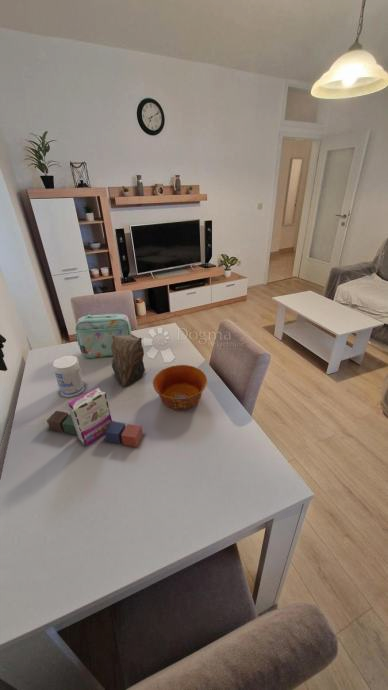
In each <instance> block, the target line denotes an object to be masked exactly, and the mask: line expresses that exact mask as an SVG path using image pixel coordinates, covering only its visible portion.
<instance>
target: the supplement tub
mask: <svg viewBox="0 0 388 690" xmlns="http://www.w3.org/2000/svg"><path fill="white" fill-rule="evenodd" d="M52 366H53V372H54V374H55V380H56V382H57V387H58V389H59V393H60V394H61V396H63V397H66V398H69V397H75V396H77V395H79V394H81V393H82V392H83V391H84V390H85V383H84V379H83V374H82V369H81V366H80V363H79V359H78V357H77V356H75V355H65V356H61V357H59V358H57V359H55V360H54V361H53V362H52Z"/></svg>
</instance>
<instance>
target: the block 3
mask: <svg viewBox="0 0 388 690" xmlns="http://www.w3.org/2000/svg"><path fill="white" fill-rule="evenodd" d="M126 426H127V425H126V423H124V422H118V421H114V420H112V421H111V423H110V424H109V426H108V427H107V429H106V430H105V433H104V436H105V441H106V442H110V443H113V444H118V445H119V444H121V443H122V437H121V435H122V433H123V431H124V430H125V428H126Z"/></svg>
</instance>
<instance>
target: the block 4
mask: <svg viewBox="0 0 388 690" xmlns="http://www.w3.org/2000/svg"><path fill="white" fill-rule="evenodd" d="M125 426H126V428H125V430H124V431H123V433H122V435H121V437H122V441H121V443H122V445H124V446H129V447H134V448H138V446H139V444H140V442H141V440H142V438H143V436H144V435H143V429H142V426H140V425H135V424H131V423H130V424H129V423H127V424H126V425H125Z"/></svg>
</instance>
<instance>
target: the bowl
mask: <svg viewBox="0 0 388 690" xmlns="http://www.w3.org/2000/svg"><path fill="white" fill-rule="evenodd" d="M207 383H208V378H207V375H206V374H205V372H204V371H203V370H201V369H200V368H197V367H195V366H193V365H187V364H177V365H172V366H168V367H166V368H163V369H161V370H159V372H158V373H156V375H155V376H154V378H153V381H152V386H153V390H154V391H155V392H156V394H158V395H159V398H160V400H161V402H162V404H163V405H164V406H166V407H167V408H169V409H172V410H179V411H180V410H187V409H190V408H192V407H194V406H195V405H197V404H198V403H199V402H200V400H201V398H202V393H203V391H204V390H205V389H206V387H207ZM181 395H182V396H183V397H181V398H179V396H181Z"/></svg>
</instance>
